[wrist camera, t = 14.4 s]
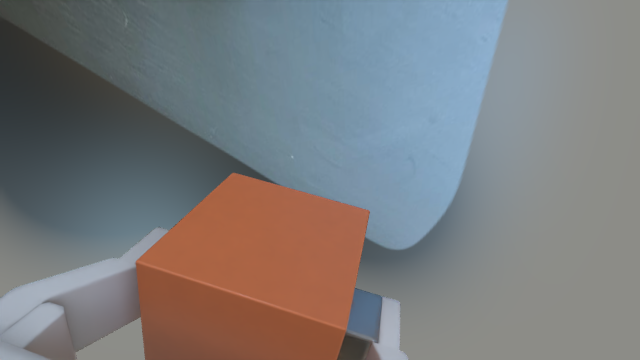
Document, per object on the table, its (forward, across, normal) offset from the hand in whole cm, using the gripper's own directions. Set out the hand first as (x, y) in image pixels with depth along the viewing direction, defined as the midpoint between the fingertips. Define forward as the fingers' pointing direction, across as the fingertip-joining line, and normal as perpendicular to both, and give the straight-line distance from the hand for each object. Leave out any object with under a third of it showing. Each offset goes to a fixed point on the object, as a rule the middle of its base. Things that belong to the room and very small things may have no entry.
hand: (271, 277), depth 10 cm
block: (+2, 0, 0) cm, 2 cm away
